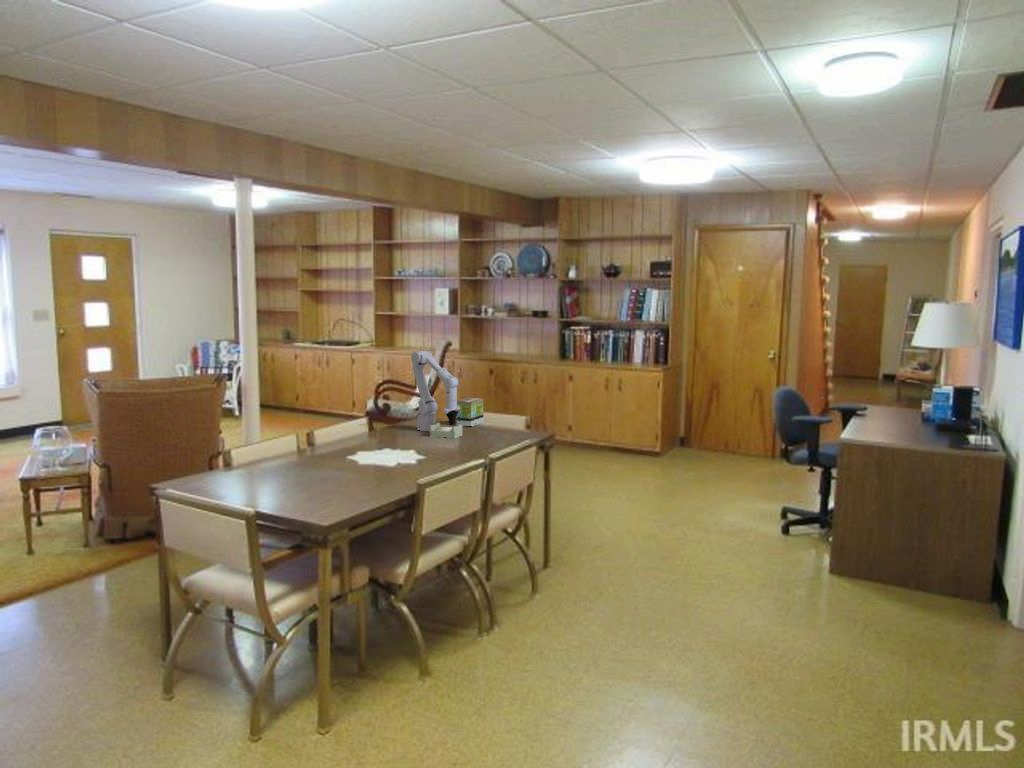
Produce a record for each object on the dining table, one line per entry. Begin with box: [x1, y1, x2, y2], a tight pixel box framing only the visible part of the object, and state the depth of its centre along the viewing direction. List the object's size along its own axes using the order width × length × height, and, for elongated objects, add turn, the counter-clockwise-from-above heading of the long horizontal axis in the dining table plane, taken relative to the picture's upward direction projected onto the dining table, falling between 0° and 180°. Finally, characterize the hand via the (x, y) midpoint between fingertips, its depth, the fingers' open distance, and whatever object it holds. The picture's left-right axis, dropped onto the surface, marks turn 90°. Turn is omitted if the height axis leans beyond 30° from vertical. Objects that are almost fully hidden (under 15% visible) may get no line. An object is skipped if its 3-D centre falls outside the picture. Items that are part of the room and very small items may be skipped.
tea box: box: [456, 397, 485, 427], centre depth 416 cm, size 15×10×15 cm, turn 154°
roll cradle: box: [429, 422, 463, 439], centre depth 385 cm, size 15×9×7 cm, turn 66°
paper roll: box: [436, 426, 453, 432], centre depth 385 cm, size 10×5×5 cm, turn 69°
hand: (452, 424), depth 391 cm, fingers closed
